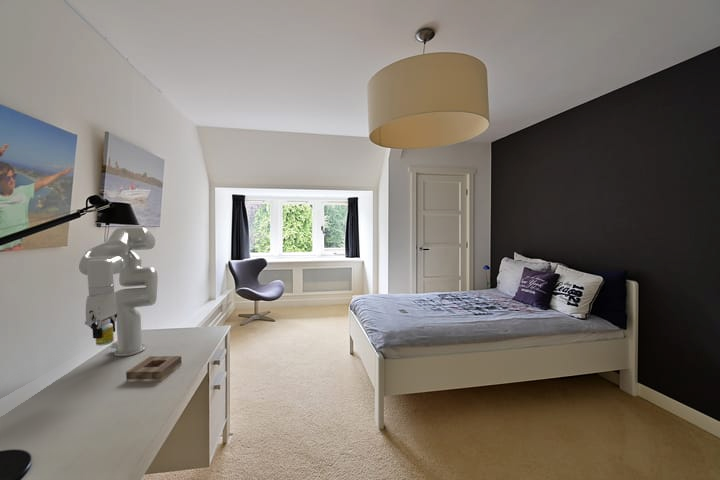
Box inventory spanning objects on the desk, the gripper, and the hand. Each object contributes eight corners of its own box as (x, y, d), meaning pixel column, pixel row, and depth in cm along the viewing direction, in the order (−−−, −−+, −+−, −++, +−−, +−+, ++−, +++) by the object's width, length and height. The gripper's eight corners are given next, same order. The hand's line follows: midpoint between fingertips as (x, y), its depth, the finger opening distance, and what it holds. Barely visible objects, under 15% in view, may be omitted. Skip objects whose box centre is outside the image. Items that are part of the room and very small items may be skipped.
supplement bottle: (103, 346, 115) (101, 322, 115) (92, 345, 116) (90, 321, 116) (117, 340, 121) (115, 317, 120) (106, 339, 122) (105, 316, 121)
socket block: (126, 381, 120) (126, 372, 120) (150, 365, 134) (149, 356, 134) (161, 381, 120) (161, 371, 120) (181, 364, 134) (181, 356, 134)
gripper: (109, 285, 125) (112, 327, 127) (71, 296, 108) (74, 344, 110) (127, 285, 125) (130, 326, 127) (92, 296, 108) (95, 344, 110)
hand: (104, 334), depth 118 cm, fingers closed on supplement bottle, 5 cm apart
